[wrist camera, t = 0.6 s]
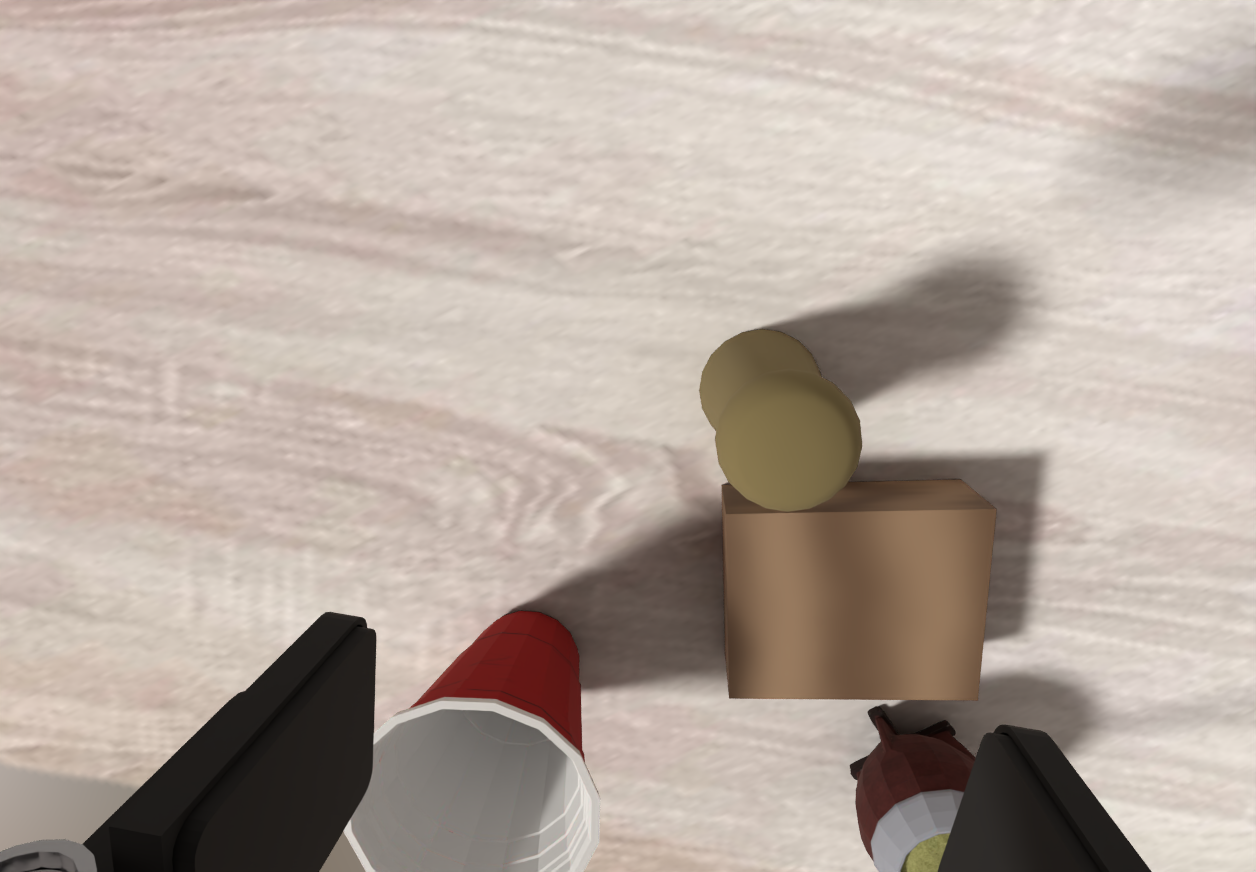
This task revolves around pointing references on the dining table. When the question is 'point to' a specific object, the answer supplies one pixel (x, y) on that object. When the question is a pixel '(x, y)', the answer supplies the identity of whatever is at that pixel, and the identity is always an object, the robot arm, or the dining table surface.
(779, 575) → the walnut plinth
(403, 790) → the plastic cup
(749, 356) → the olive pawn figure
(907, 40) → the dining table surface
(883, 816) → the mate gourd
